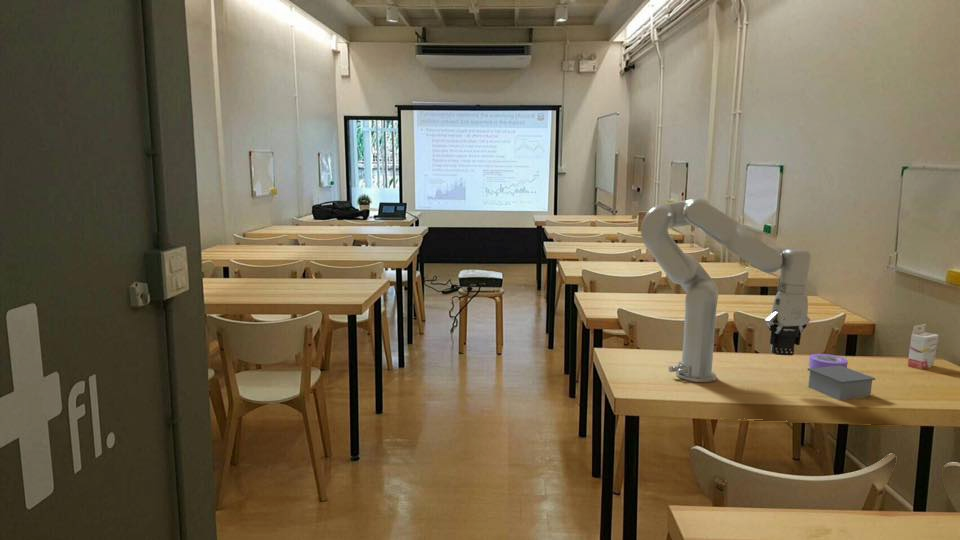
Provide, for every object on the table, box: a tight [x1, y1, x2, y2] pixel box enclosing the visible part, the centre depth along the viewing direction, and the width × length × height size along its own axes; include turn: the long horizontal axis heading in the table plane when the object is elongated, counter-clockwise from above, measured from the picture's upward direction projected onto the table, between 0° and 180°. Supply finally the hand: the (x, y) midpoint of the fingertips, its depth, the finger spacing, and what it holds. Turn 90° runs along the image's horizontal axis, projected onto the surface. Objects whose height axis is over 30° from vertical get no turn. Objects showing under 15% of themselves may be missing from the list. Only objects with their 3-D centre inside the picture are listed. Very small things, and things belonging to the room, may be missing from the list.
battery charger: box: [769, 321, 799, 356], centre depth 200 cm, size 7×4×11 cm, turn 88°
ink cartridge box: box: [907, 323, 939, 370], centre depth 227 cm, size 9×5×15 cm, turn 120°
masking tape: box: [808, 353, 848, 368], centre depth 224 cm, size 12×12×4 cm
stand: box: [807, 365, 876, 401], centre depth 200 cm, size 13×13×6 cm
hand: (784, 344), depth 200 cm, fingers closed on battery charger, 7 cm apart
